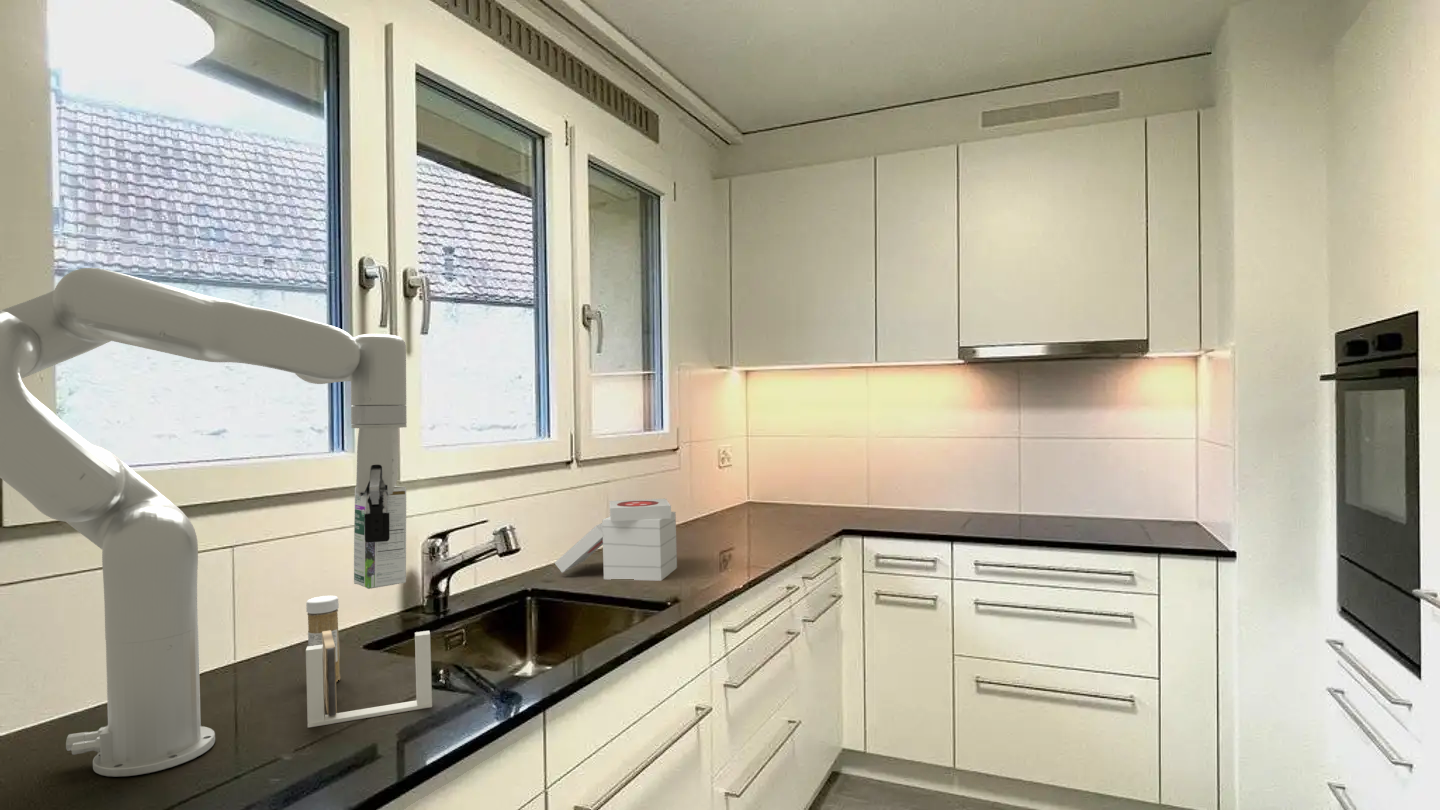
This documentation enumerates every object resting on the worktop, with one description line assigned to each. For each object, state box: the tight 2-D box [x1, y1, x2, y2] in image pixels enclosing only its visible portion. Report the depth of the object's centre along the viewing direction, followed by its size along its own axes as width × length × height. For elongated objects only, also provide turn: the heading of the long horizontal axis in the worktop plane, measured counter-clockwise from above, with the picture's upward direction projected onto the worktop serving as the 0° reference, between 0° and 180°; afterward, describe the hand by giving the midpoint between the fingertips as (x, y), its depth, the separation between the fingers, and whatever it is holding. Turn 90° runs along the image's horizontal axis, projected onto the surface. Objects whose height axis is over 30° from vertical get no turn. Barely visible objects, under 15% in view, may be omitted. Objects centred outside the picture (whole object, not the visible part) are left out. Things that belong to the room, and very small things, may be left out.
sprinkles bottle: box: [305, 595, 341, 683], centre depth 125 cm, size 5×5×13 cm
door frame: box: [305, 630, 433, 728], centre depth 111 cm, size 16×2×10 cm, turn 114°
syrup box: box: [353, 485, 407, 590], centre depth 116 cm, size 6×6×14 cm
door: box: [322, 630, 338, 716], centre depth 114 cm, size 11×1×9 cm, turn 30°
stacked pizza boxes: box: [554, 498, 678, 582], centre depth 202 cm, size 19×30×18 cm, turn 78°
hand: (380, 536), depth 116 cm, fingers closed on syrup box, 7 cm apart
